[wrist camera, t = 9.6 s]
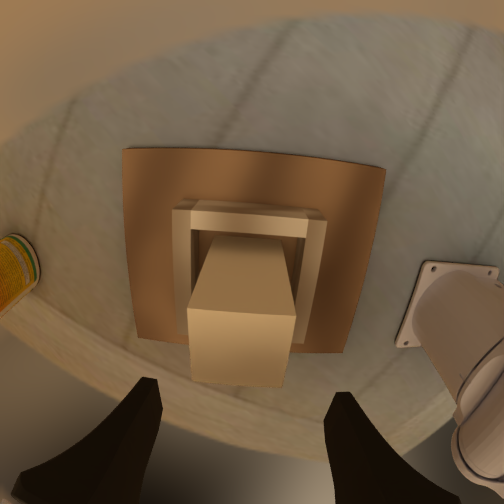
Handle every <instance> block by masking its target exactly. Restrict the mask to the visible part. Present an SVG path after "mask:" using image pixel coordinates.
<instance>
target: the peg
mask: <svg viewBox="0 0 504 504" xmlns="http://www.w3.org/2000/svg"><path fill="white" fill-rule="evenodd" d="M187 318H188V335H189V349H190V362H191V373H192V381H195V382H204V383H213V384H224V385H237V386H253V387H278V388H282V386H283V381H284V377H285V372H286V367H287V362H288V357H289V352H290V347H291V342H292V337H293V331H294V326H295V321H296V312H295V306H294V301H293V296H292V291H291V286H290V282H289V277H288V272H287V267H286V262H285V257H284V253H283V248H282V243H281V240H276V239H262V238H248V237H234V236H219V235H215V236H214V239H213V241H212V244H211V246H210V249H209V251H208V254H207V256H206V259H205V262H204V264H203V267H202V269H201V272H200V275H199V277H198V280H197V283H196V285H195V288H194V290H193V293H192V296H191V299H190V301H189V304H188V307H187Z"/></svg>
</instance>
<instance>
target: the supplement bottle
mask: <svg viewBox="0 0 504 504" xmlns="http://www.w3.org/2000/svg"><path fill="white" fill-rule="evenodd" d="M39 275H40V271H39V265H38V260H37V257H36V254H35V252H34V250H33V248H32V247H31V245H30V244H29V243H28V242H27V241H26V240H25V239H24V238H22V237H21V236H19V235H15V234H11V235H8V236H6V237H4V238H2V239H0V319H1V318H2V317H3V316H4V315H5V314H6V313H7V312H8V311H9V310H10V309H11V308H12V307H13V306H14V305H15V304H17V303H18V302H19V301H20V300H21V299H22V298H23V297H24V296H26V295H27V294H28V293H29V292H30V291H31V290H32V289H33V288H34V287H35V286H36V285H37V283H38V280H39Z"/></svg>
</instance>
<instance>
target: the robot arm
mask: <svg viewBox="0 0 504 504" xmlns="http://www.w3.org/2000/svg"><path fill="white" fill-rule="evenodd" d="M433 266H434V268H433V269H432V267H433ZM431 269H432V270H431ZM498 275H499V269H498V268H497V267H493V266H482V265H471V264H459V263H448V262H436V261H426V262H424V264H423V265H422V268H421V271H420V274H419V277H418V281H417V284H416V287H415V290H414V293H413V296H412V299H411V302H410V304H409V307H408V310H407V313H406V315H405V318H404V321H403V323H402V326H401V328H400V331H399V333H398V336H397V338H396V341H395V345H396V346H397V347H399V348H401V347H416V346H422V347H423V348H424V350H425V352H426V353H427V355H428V356H429V358H430V360H431V361H432V363H433V365H434V366H435V368H436V369H437V371H438V373H439V374H440V376H441V378H442V380H443V381H444V383H445V385H446V386H447V388H448V390H449V392H450V393H451V395H452V397H453V399H454V400H455V402H456V404H457V408H456V410H455V412H454V413H453V417H454V419H455V421H456V423H457V425H458V426H457V428H456V429H455V431H454V433H453V437H452V442H451V449H452V455H453V458H454V461H455V463H456V465H457V467H458V469H459V470H460V472H461V473H462V474H463V475H464V476H465V477H466V478H467V479H469V480H470V481H472V482H474V483H476V484H479V485H483V486H487V487H489V488H491V489H493V490H494V491H496V492H497V493H498V494H499V495H500V496H501V497H502V498H503V499H504V285H503V284H502V283H500V282H499V281H498V280H497V277H498ZM405 341H406V342H405ZM404 342H405V343H404ZM162 411H163V407H162V402H161V397H160V392H159V387H158V382H157V379H153V378H147V377H142V378H140V380H139V381H138V382H137V384H136V385H135V386H134V387H133V389H132V390H131V391H130V392H129V393H128V395H127V396H126V397H125V398H124V399H123V400H122V401H121V403H120V404H119V405H118V406H117V407H116V408H115V409H114V410H113V411H112V412H111V414H110V415H108V416H107V417H106V419H104V421H102V422H101V423H100V424H99V425H98V426H97V427H96V428H95V429H94V430H93V431H92V432H90V433H89V434H88V435H87V436H85V437H84V438H83V439H82V440H80V441H79V442H78V443H76V444H75V445H73V446H72V447H70V448H69V449H68V450H66V451H64V452H63V453H61V454H59V455H58V456H56V457H54V458H52V459H50V460H48V461H47V462H45V463H43V464H40V465H38V466H35V467H33V468H31V469H28V470H26V471H23V472H21V473H20V475H19V476H18V478H17V481H16V483H15V485H14V488H13V490H12V492H11V496H12V497H13V498H14V499H15V500H17V501H18V502H19V503H21V504H139V499H140V493H141V487H142V482H143V477H144V473H145V470H146V467H147V464H148V460H149V457H150V455H151V452H152V448H153V445H154V442H155V439H156V436H157V433H158V430H159V426H160V421H161V416H162ZM324 433H325V443H326V448H327V453H328V458H329V463H330V467H331V472H332V477H333V482H334V489H335V503H336V504H461V501H460V499H459V497H458V496H456V495H454V494H452V493H450V492H448V491H446V490H444V489H442V488H441V487H439V486H437V485H436V484H434V483H433V482H431V481H429V480H428V479H427V478H425V477H424V476H423V475H421V474H420V473H419V472H417V471H416V470H415V469H413V468H412V467H411V466H410V465H409V464H408V463H407V462H406V461H405V460H403V459H402V458H401V457H400V456H399V455H398V454H397V453H396V452H395V450H394V449H393V448H392V447H391V446H390V445H389V444H388V443H387V442H386V440H385V439H384V438H383V437H382V436H381V434H380V433H379V432H378V430H377V429H376V428H375V426H374V425H373V424H372V423H371V421H370V420H369V418H368V417H367V416H366V414H365V413H364V411H363V410H362V408H361V407H360V406H359V404H358V403H357V401H356V400H355V398H354V397H353V395H352V394H351V393H350V392H336V394H335V396H334V398H333V400H332V403H331V405H330V407H329V410H328V412H327V414H326V416H325V418H324ZM1 504H12V503H10V502H9V501H7V500H5V499H3V500H2V502H1Z"/></svg>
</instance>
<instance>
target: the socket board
mask: <svg viewBox="0 0 504 504" xmlns="http://www.w3.org/2000/svg"><path fill="white" fill-rule="evenodd" d="M385 175H386V169H383V168H380V167H375V166H369V165H364V164H358V163H352V162H345V161H339V160H332V159H325V158H317V157H309V156H301V155H292V154H283V153H272V152H261V151H247V150H232V149H212V148H127V149H122V182H123V211H124V228H125V242H126V253H127V263H128V273H129V281H130V289H131V296H132V303H133V310H134V317H135V323H136V329H137V334H138V338H144V339H151V340H157V341H164V342H172V343H179V344H188V345H189V335H188V318H187V307H188V304H189V301H190V299H191V296H192V293H193V290H194V288H195V285H196V283H197V280H198V277H199V275H200V272H201V269H202V267H203V264H204V262H205V259H206V256H207V254H208V251H209V249H210V246H211V244H212V241H213V239H214V236H215V235H219V236H234V237H248V238H262V239H276V240H281V243H282V248H283V253H284V257H285V262H286V267H287V272H288V277H289V282H290V286H291V291H292V296H293V301H294V306H295V312H296V321H295V326H294V331H293V337H292V342H291V347H290V352H296V353H343V350H344V347H345V343H346V340H347V337H348V334H349V331H350V328H351V325H352V321H353V318H354V315H355V311H356V308H357V304H358V301H359V297H360V293H361V290H362V286H363V282H364V278H365V274H366V270H367V266H368V262H369V258H370V254H371V249H372V245H373V240H374V235H375V231H376V226H377V221H378V216H379V210H380V205H381V199H382V194H383V187H384V181H385Z"/></svg>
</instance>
